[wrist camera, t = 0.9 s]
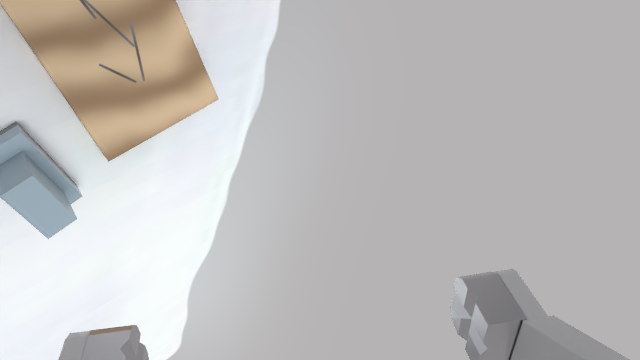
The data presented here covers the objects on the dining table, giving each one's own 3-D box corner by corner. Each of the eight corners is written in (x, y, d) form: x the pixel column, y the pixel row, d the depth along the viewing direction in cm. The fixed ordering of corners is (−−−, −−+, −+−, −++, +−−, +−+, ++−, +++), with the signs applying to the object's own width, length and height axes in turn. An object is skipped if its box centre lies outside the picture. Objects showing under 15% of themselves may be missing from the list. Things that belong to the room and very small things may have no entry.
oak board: (-76, -108, 36) (-76, -108, 35) (98, -164, 40) (103, -165, 39) (104, 155, 53) (108, 161, 52) (212, 95, 57) (218, 99, 56)
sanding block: (-34, 151, 45) (-26, 192, 39) (16, 121, 46) (30, 156, 40) (33, 211, 51) (49, 254, 45) (75, 183, 52) (96, 222, 46)
